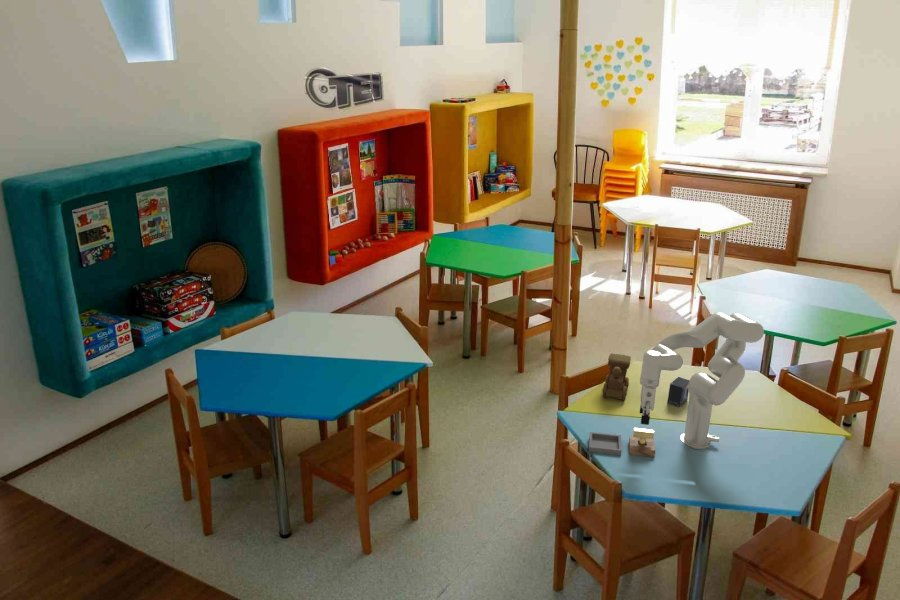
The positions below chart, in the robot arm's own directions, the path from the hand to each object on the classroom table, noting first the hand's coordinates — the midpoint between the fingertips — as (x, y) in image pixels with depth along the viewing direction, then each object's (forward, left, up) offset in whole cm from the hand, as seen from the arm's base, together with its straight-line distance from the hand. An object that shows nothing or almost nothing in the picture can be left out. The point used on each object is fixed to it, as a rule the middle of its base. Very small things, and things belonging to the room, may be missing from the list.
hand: (644, 418), depth 319 cm
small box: (-20, -52, -16) cm, 58 cm away
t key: (-1, 0, -15) cm, 15 cm away
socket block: (-1, 0, -16) cm, 16 cm away
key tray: (+14, 0, -16) cm, 21 cm away
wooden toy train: (+9, -54, -16) cm, 57 cm away
